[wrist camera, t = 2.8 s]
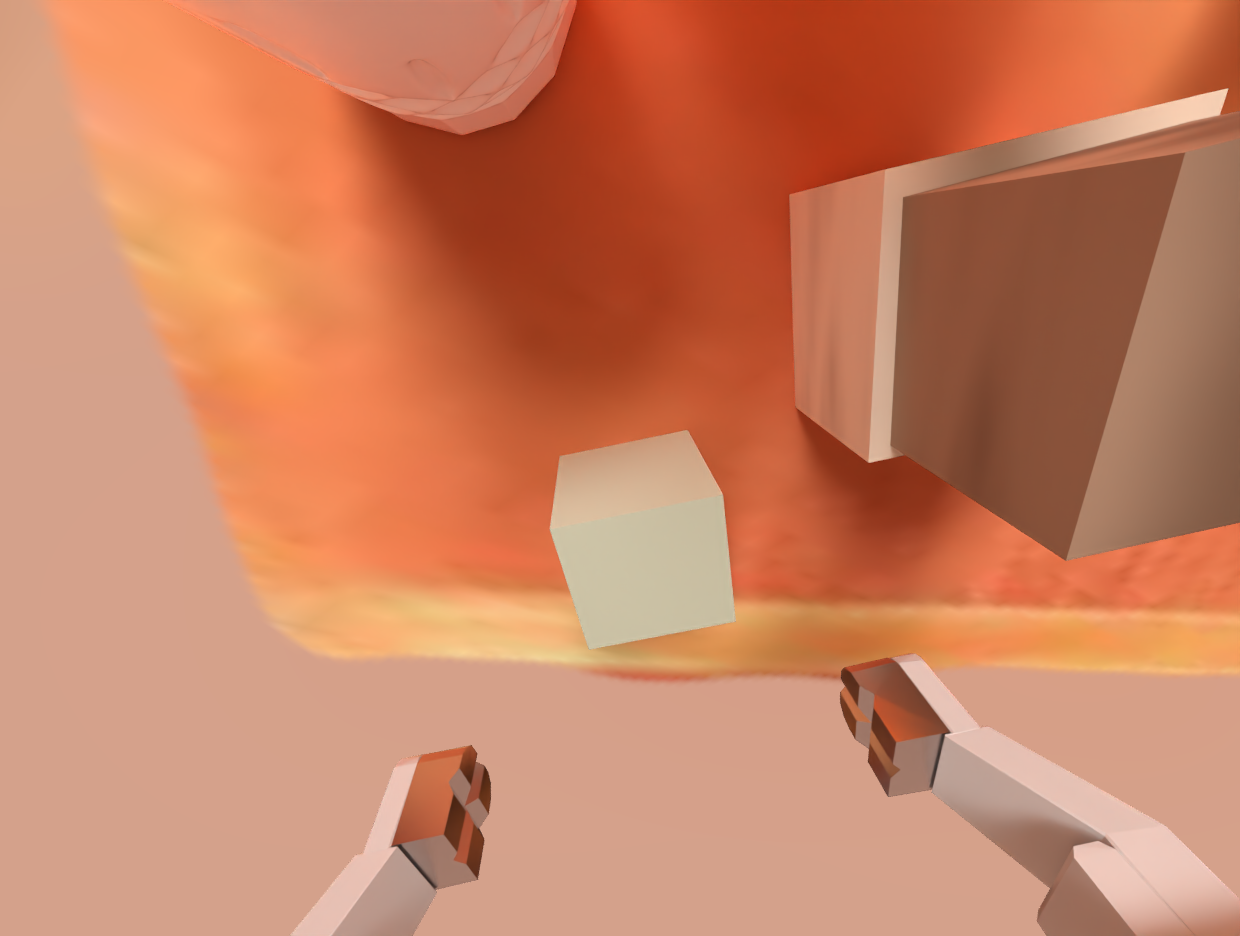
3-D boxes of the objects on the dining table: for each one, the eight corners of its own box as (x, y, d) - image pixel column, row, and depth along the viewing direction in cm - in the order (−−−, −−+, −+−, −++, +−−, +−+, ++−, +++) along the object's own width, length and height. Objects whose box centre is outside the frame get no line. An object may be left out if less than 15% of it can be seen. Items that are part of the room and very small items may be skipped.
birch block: (1015, 140, 13) (1228, 88, 9) (978, 365, 17) (1122, 408, 12) (787, 194, 14) (884, 169, 9) (793, 405, 17) (868, 463, 12)
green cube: (687, 429, 17) (723, 495, 12) (701, 534, 19) (735, 621, 15) (559, 455, 17) (549, 529, 13) (588, 556, 19) (588, 649, 15)
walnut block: (1191, 120, 9) (1767, 0, 5) (1113, 392, 12) (1431, 480, 7) (902, 197, 9) (1185, 152, 5) (890, 445, 12) (1066, 561, 8)
